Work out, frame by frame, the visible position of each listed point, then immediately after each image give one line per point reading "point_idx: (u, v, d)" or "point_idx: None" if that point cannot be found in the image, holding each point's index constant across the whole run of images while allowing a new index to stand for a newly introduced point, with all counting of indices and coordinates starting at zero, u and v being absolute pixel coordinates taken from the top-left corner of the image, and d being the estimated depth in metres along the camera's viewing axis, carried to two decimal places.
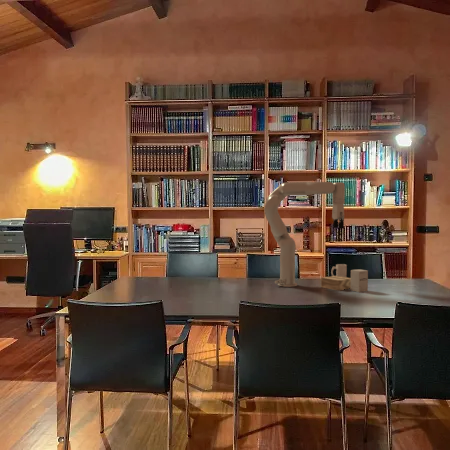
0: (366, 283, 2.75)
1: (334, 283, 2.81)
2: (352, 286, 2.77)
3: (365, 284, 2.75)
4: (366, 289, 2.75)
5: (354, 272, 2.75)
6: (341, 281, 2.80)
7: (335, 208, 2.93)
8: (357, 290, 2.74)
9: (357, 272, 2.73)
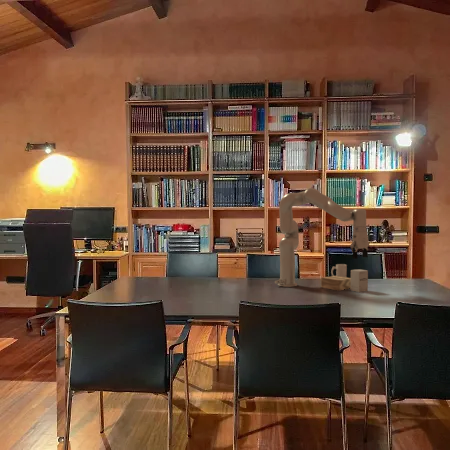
0: (366, 283, 2.75)
1: (334, 283, 2.81)
2: (352, 286, 2.77)
3: (365, 284, 2.75)
4: (366, 289, 2.75)
5: (354, 272, 2.75)
6: (341, 281, 2.80)
7: (365, 236, 2.75)
8: (357, 290, 2.74)
9: (357, 272, 2.73)
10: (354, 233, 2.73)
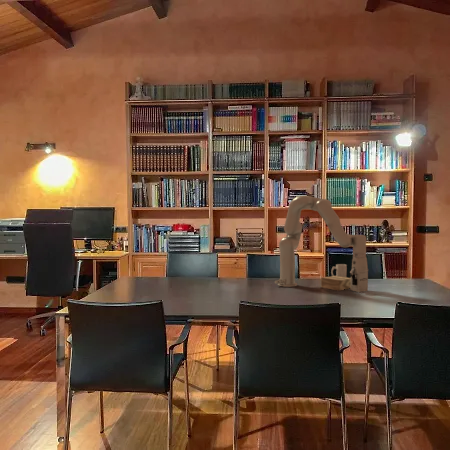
0: (366, 283, 2.75)
1: (334, 283, 2.81)
2: (352, 286, 2.77)
3: (365, 284, 2.75)
4: (366, 289, 2.75)
5: (354, 272, 2.75)
6: (341, 281, 2.80)
7: (365, 262, 2.76)
8: (357, 290, 2.74)
9: None
10: (354, 259, 2.74)
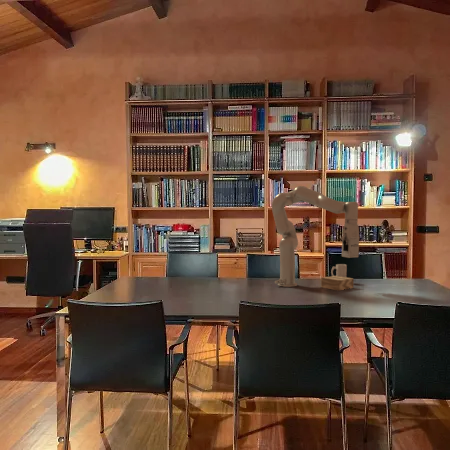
0: (357, 249, 2.78)
1: (334, 283, 2.81)
2: (343, 252, 2.81)
3: (356, 250, 2.78)
4: (357, 255, 2.79)
5: None
6: (341, 281, 2.80)
7: (356, 229, 2.79)
8: (348, 256, 2.77)
9: None
10: (345, 225, 2.77)
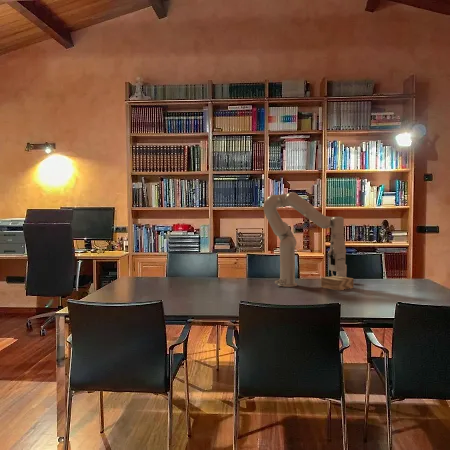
0: (344, 263, 2.85)
1: (334, 283, 2.81)
2: (330, 266, 2.87)
3: (343, 264, 2.85)
4: (344, 269, 2.86)
5: (332, 252, 2.86)
6: (341, 281, 2.80)
7: (343, 243, 2.86)
8: (335, 269, 2.84)
9: None
10: (332, 240, 2.85)
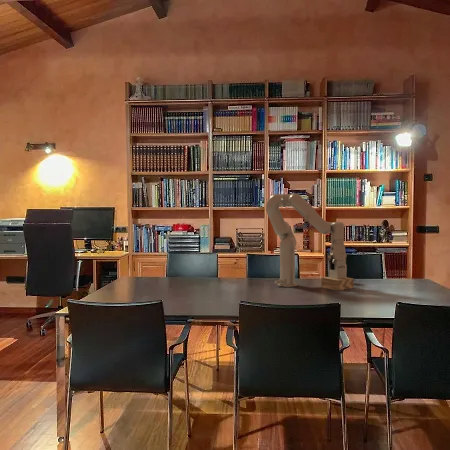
0: (344, 270, 2.86)
1: (334, 283, 2.81)
2: (331, 273, 2.88)
3: (343, 272, 2.86)
4: (344, 276, 2.86)
5: None
6: (341, 281, 2.80)
7: (343, 248, 2.86)
8: (335, 277, 2.84)
9: (335, 260, 2.84)
10: (332, 245, 2.85)
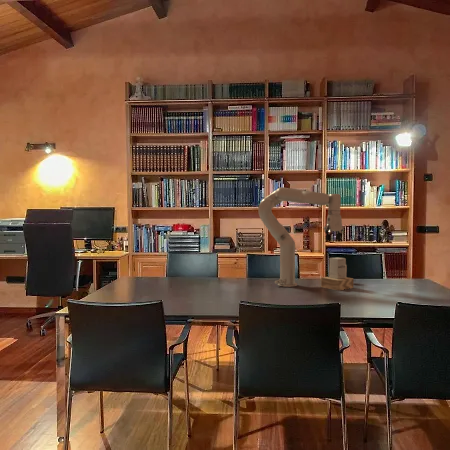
0: (344, 270, 2.86)
1: (334, 283, 2.81)
2: (331, 273, 2.88)
3: (343, 272, 2.86)
4: (344, 276, 2.87)
5: (333, 260, 2.86)
6: (341, 281, 2.80)
7: (339, 220, 2.91)
8: (336, 277, 2.84)
9: (336, 260, 2.84)
10: (328, 216, 2.90)
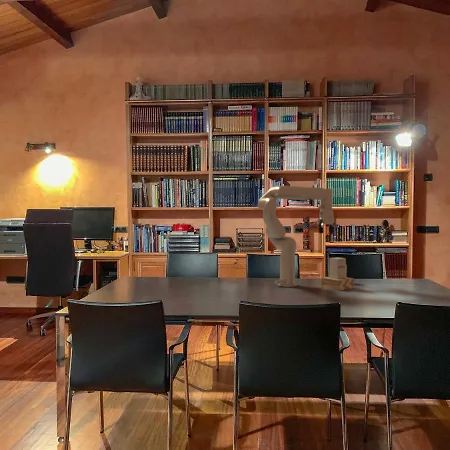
0: (344, 270, 2.86)
1: (334, 283, 2.81)
2: (331, 273, 2.88)
3: (343, 272, 2.86)
4: (344, 276, 2.87)
5: (333, 260, 2.86)
6: (341, 281, 2.80)
7: (331, 213, 3.04)
8: (336, 277, 2.84)
9: (336, 260, 2.84)
10: (321, 210, 3.03)
